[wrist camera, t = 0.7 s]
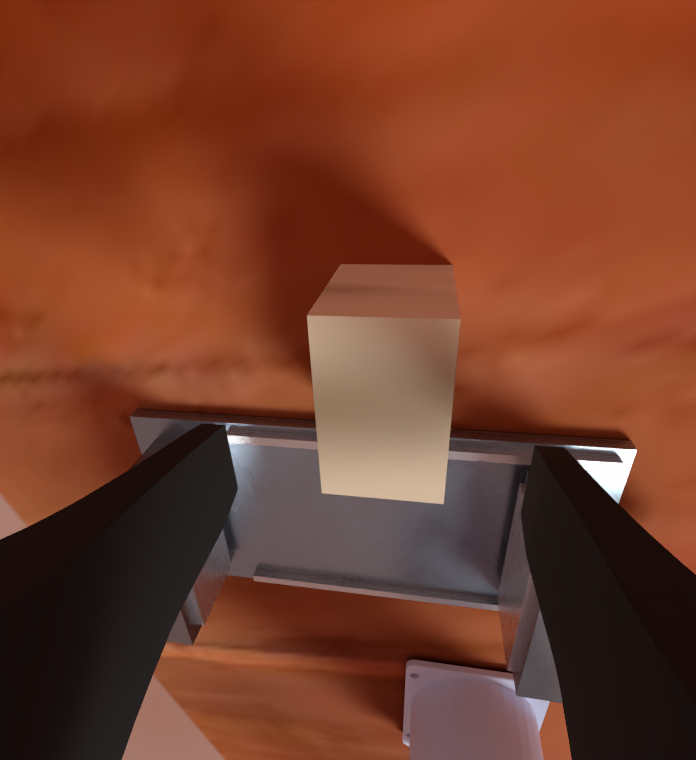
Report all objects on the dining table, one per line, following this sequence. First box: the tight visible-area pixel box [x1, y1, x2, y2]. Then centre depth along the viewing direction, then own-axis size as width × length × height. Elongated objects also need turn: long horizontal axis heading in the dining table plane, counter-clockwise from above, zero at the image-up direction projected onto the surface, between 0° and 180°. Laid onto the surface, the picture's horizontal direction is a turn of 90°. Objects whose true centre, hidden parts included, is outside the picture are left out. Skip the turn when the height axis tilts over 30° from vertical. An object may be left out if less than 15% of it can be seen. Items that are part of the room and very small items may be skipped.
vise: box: [129, 409, 637, 645], centre depth 19 cm, size 10×20×5 cm, turn 92°
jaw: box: [497, 467, 563, 703], centre depth 17 cm, size 8×7×4 cm
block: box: [307, 264, 460, 504], centre depth 15 cm, size 6×4×5 cm, turn 2°
